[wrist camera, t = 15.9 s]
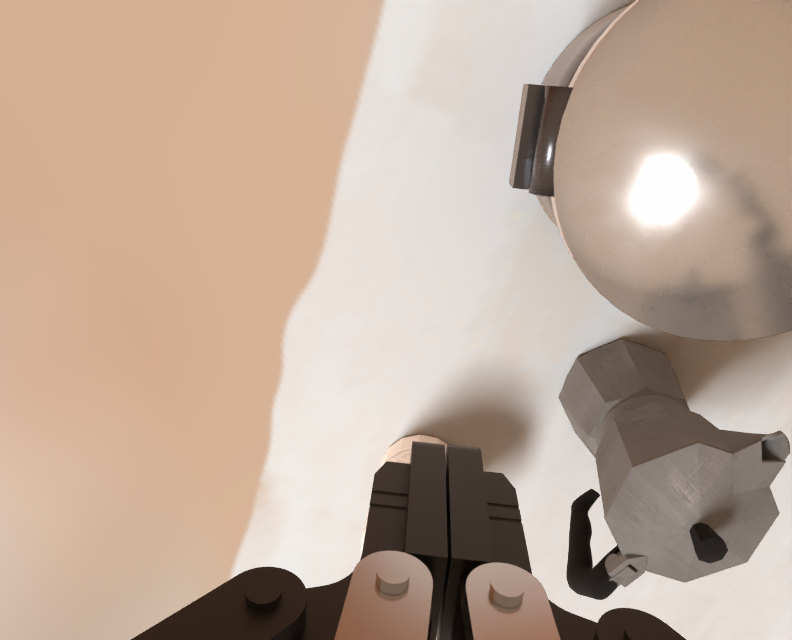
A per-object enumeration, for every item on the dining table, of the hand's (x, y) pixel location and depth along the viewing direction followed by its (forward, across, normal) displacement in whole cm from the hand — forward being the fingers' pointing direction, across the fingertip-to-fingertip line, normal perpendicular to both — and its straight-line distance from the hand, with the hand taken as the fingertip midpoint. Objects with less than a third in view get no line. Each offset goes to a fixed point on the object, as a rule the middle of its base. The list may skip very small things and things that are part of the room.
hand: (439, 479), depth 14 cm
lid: (+21, -14, -6) cm, 25 cm away
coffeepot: (+33, -15, +14) cm, 39 cm away
